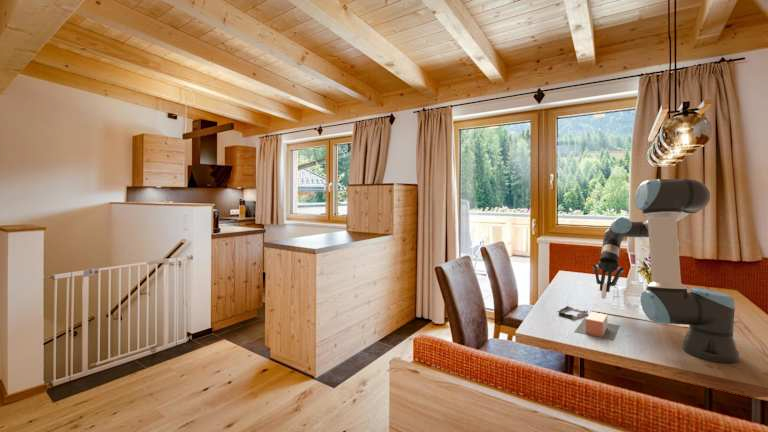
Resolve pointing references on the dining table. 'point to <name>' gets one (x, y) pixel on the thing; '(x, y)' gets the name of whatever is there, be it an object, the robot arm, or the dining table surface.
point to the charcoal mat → (608, 334)
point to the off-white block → (596, 324)
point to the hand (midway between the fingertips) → (603, 296)
